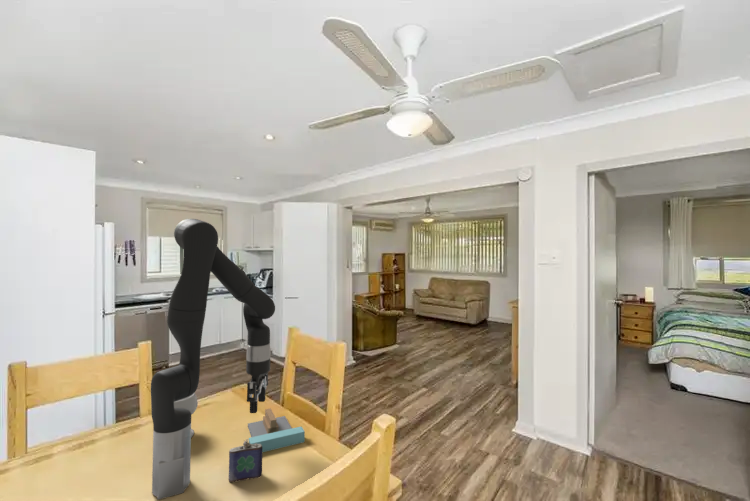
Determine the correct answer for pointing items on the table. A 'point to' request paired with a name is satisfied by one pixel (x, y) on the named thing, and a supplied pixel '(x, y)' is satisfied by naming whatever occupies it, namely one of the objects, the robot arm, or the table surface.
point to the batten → (279, 439)
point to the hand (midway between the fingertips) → (257, 406)
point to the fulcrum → (268, 424)
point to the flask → (245, 462)
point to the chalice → (188, 405)
